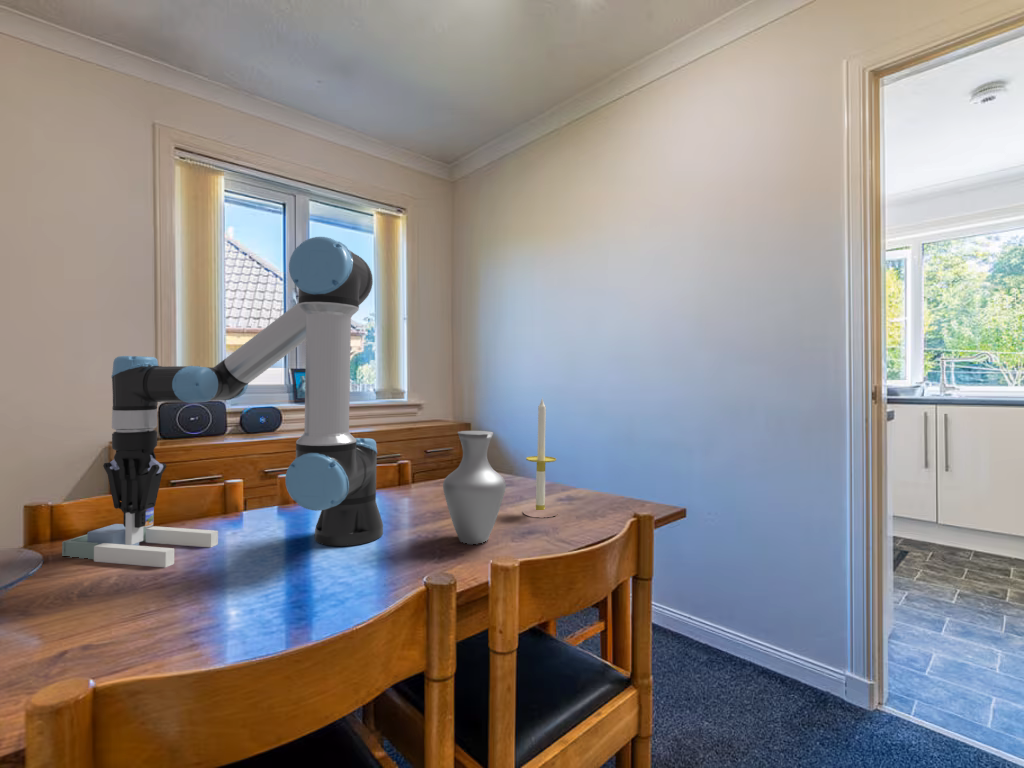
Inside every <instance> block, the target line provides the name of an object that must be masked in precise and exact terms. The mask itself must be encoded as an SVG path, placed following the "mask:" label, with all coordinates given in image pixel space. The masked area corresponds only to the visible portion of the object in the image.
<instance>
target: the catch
mask: <svg viewBox="0 0 1024 768" xmlns="http://www.w3.org/2000/svg"><path fill="white" fill-rule="evenodd" d="M146 529H147V528H146V527H143V541H141V542H140V543H144V542H146ZM96 545H98V543H91V542H88V533H87V534H83V535H80V536H76V537H74V538H70V539H67V540H64V541H62V544H61V557H62V556H70V557H69V558H72V557H79V558H78V559H84V558H88V559H87V560H94V546H96Z"/></svg>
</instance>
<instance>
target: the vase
mask: <svg viewBox="0 0 1024 768" xmlns="http://www.w3.org/2000/svg"><path fill="white" fill-rule="evenodd" d="M457 435H458V437H459V441H460V444H461V447H462V457H461V461H460V463H459V465H458V467H457V468H456V469H455V470H453V471H452V472H450V473H449V474H448V475H447V476H446V477H445V479H444V480H443V484H442V489H443V495H444V498H445V502H446V505H447V509H448V513H449V516H450V518H451V519H450V520H451V523H452V525H453V528H454V530H455V532H456V535H457V537H458V540H459V542H460V543H462V542H463V543H462V544H465V543H467V544H466V545H473V544H476V545H479V544H478V543H482V544H484V543H483V542H485V541H486V542H488V541H489V538H490V535H491V533H492V531H493V529H494V527H495V524H496V521H497V519H498V514H499V513H500V509H501V505H502V502H503V500H504V496H505V492H506V486H507V485H506V481H505V478H504V477H503V475H501V474H500V473H498V472H497V471H496V470H494V469H493V467H492V466H491V464H490V462H489V460H488V449H489V445H490V442H491V440H492V437H493V435H494V432H492V431H487V430H461V431H457ZM487 540H488V541H487ZM486 542H485V543H486Z"/></svg>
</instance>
